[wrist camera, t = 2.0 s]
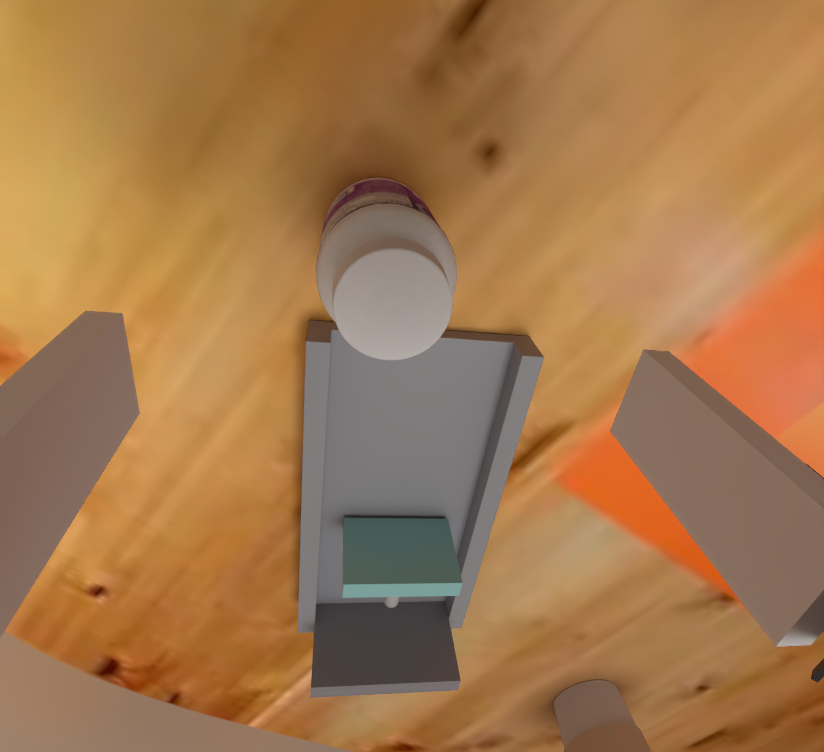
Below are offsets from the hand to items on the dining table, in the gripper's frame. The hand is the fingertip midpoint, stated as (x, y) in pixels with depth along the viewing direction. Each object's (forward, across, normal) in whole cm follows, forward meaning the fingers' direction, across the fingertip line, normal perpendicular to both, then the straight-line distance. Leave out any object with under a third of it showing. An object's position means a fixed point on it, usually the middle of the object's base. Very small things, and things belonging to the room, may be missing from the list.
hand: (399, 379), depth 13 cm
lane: (+14, +3, -17) cm, 22 cm away
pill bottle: (+14, 0, 0) cm, 14 cm away
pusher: (+12, +3, -21) cm, 24 cm away
